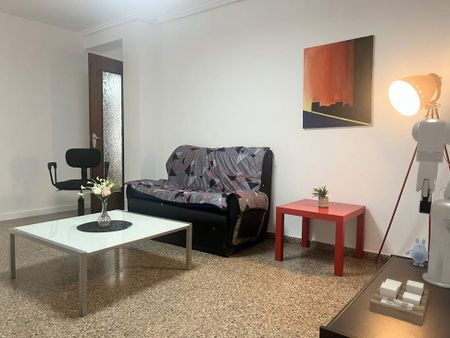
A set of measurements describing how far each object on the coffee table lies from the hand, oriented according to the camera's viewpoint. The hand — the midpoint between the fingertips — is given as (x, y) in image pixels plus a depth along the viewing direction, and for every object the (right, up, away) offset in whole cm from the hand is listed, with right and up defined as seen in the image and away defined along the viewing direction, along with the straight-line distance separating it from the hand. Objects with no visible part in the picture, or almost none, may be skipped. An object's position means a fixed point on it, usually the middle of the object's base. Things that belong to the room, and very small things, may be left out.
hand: (424, 212), depth 112 cm
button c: (-13, -26, -3) cm, 29 cm away
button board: (-9, -29, -3) cm, 31 cm away
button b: (-3, -26, 0) cm, 26 cm away
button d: (-8, -28, -6) cm, 30 cm away
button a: (-9, -27, +4) cm, 29 cm away
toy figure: (+17, -27, +34) cm, 47 cm away
